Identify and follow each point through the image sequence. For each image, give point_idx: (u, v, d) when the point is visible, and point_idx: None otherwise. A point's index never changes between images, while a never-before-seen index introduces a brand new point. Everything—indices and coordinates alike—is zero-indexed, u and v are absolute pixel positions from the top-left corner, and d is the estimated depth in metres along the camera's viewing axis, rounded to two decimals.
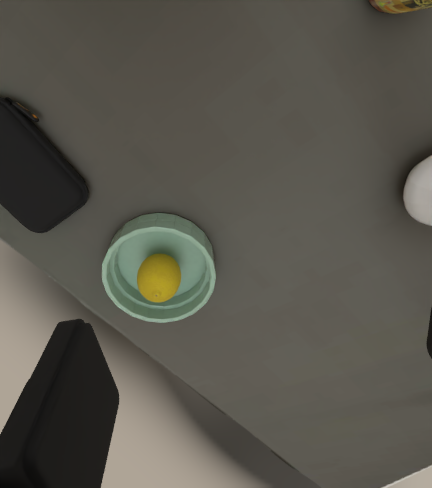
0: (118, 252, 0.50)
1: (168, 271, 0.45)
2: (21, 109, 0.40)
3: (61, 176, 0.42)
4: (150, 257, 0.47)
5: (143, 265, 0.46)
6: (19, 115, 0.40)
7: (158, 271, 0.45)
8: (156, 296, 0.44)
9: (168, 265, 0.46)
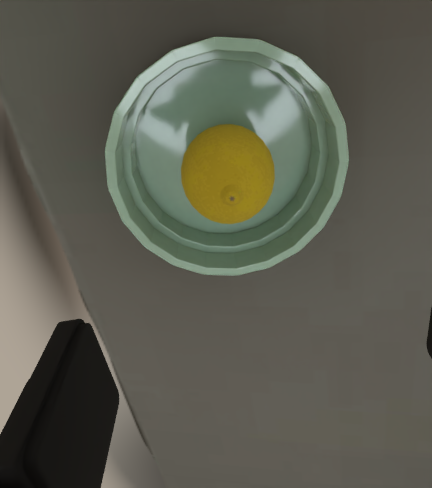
0: (158, 91, 0.24)
1: (270, 166, 0.20)
2: None
3: None
4: (234, 125, 0.22)
5: (222, 129, 0.21)
6: None
7: (255, 152, 0.20)
8: (230, 200, 0.19)
9: (271, 157, 0.21)
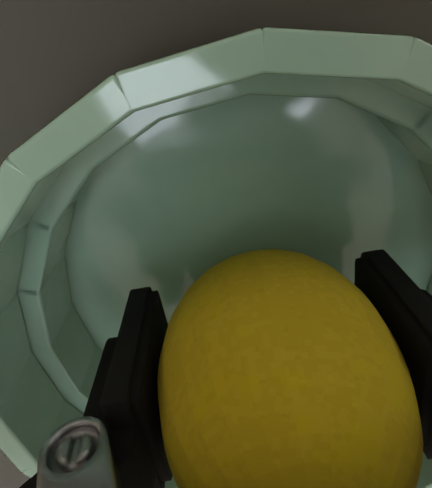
0: (109, 159, 0.10)
1: (419, 414, 0.07)
2: None
3: None
4: (298, 264, 0.08)
5: (272, 297, 0.07)
6: None
7: (390, 397, 0.06)
8: None
9: (407, 367, 0.07)
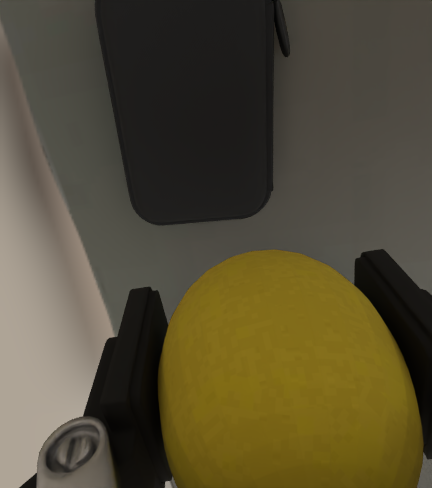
0: None
1: (419, 415, 0.07)
2: (282, 20, 0.21)
3: (260, 163, 0.23)
4: (298, 265, 0.08)
5: (273, 298, 0.07)
6: (273, 28, 0.21)
7: (390, 398, 0.06)
8: None
9: (407, 368, 0.07)
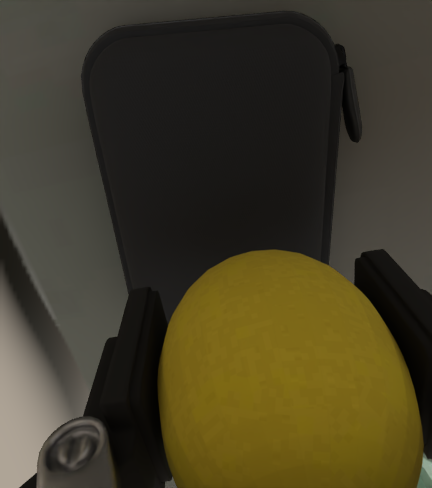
0: None
1: (419, 415, 0.07)
2: (354, 95, 0.14)
3: None
4: (298, 265, 0.08)
5: (272, 298, 0.07)
6: (341, 107, 0.14)
7: (390, 398, 0.06)
8: None
9: (407, 368, 0.07)
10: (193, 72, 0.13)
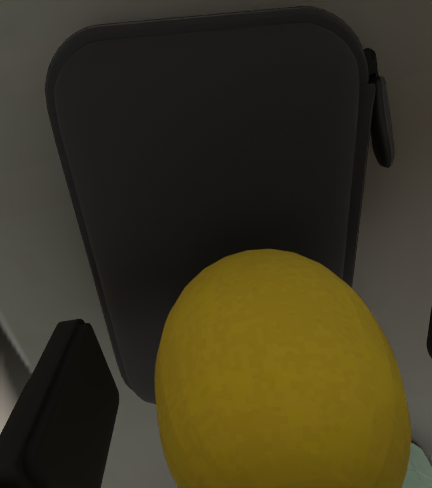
0: None
1: (407, 408, 0.07)
2: (386, 111, 0.11)
3: None
4: (291, 263, 0.08)
5: (265, 295, 0.07)
6: (370, 126, 0.11)
7: (377, 391, 0.06)
8: None
9: (396, 363, 0.08)
10: (185, 84, 0.10)
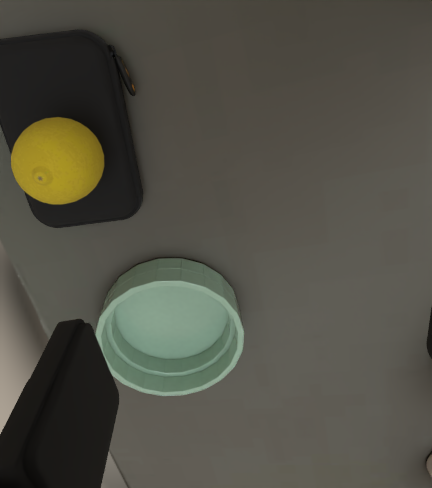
0: None
1: (84, 151, 0.23)
2: (123, 70, 0.28)
3: (124, 176, 0.30)
4: None
5: (42, 120, 0.24)
6: (116, 76, 0.28)
7: (65, 138, 0.23)
8: (39, 180, 0.22)
9: (89, 143, 0.24)
10: (31, 60, 0.26)
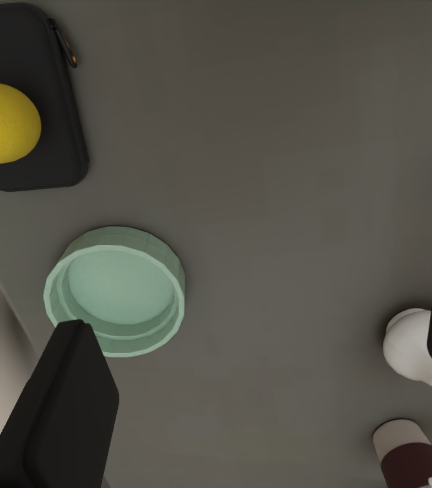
0: None
1: (13, 113, 0.25)
2: (63, 42, 0.30)
3: (66, 143, 0.32)
4: None
5: None
6: (57, 48, 0.30)
7: None
8: None
9: (20, 107, 0.26)
10: None
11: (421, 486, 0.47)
